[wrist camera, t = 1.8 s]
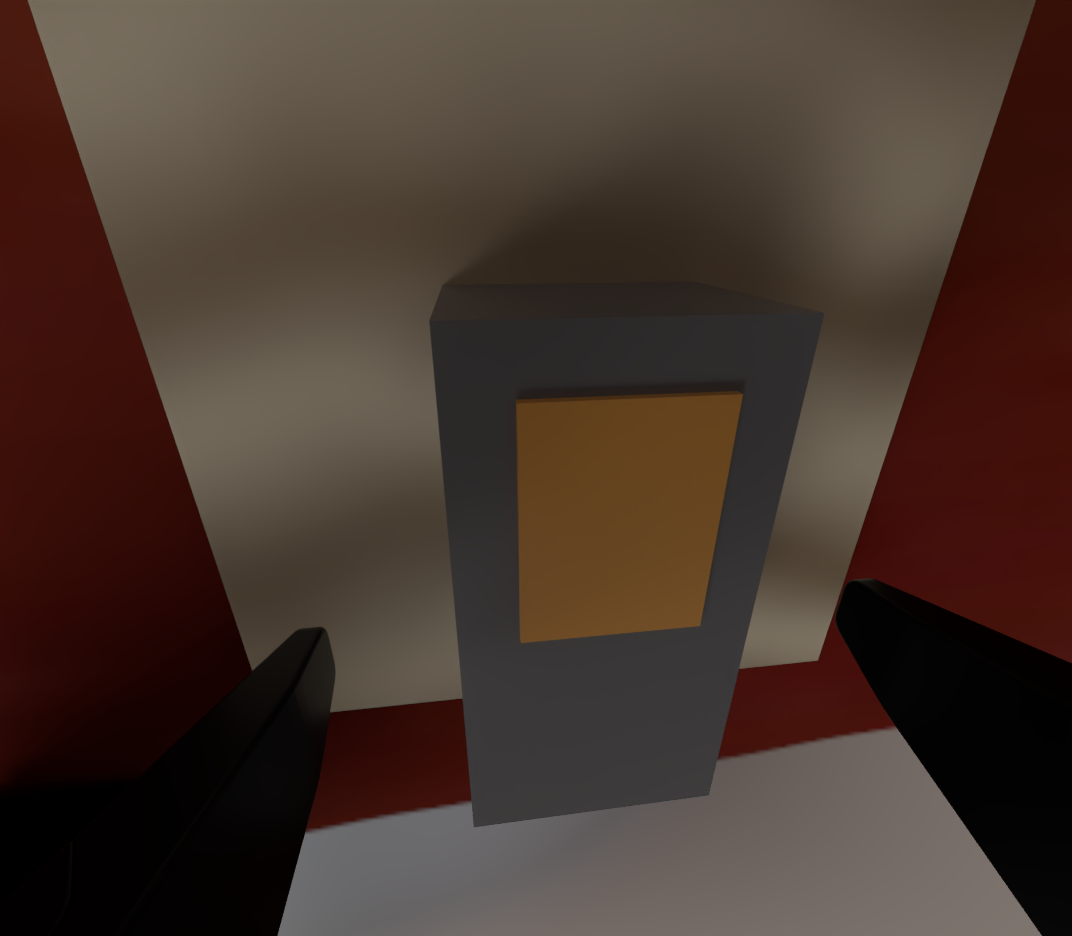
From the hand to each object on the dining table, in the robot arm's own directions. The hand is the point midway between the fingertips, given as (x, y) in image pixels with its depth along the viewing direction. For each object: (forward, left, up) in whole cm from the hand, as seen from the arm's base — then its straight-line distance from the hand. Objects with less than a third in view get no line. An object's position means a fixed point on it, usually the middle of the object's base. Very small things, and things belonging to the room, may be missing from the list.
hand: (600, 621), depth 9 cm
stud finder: (0, 0, -4) cm, 4 cm away
